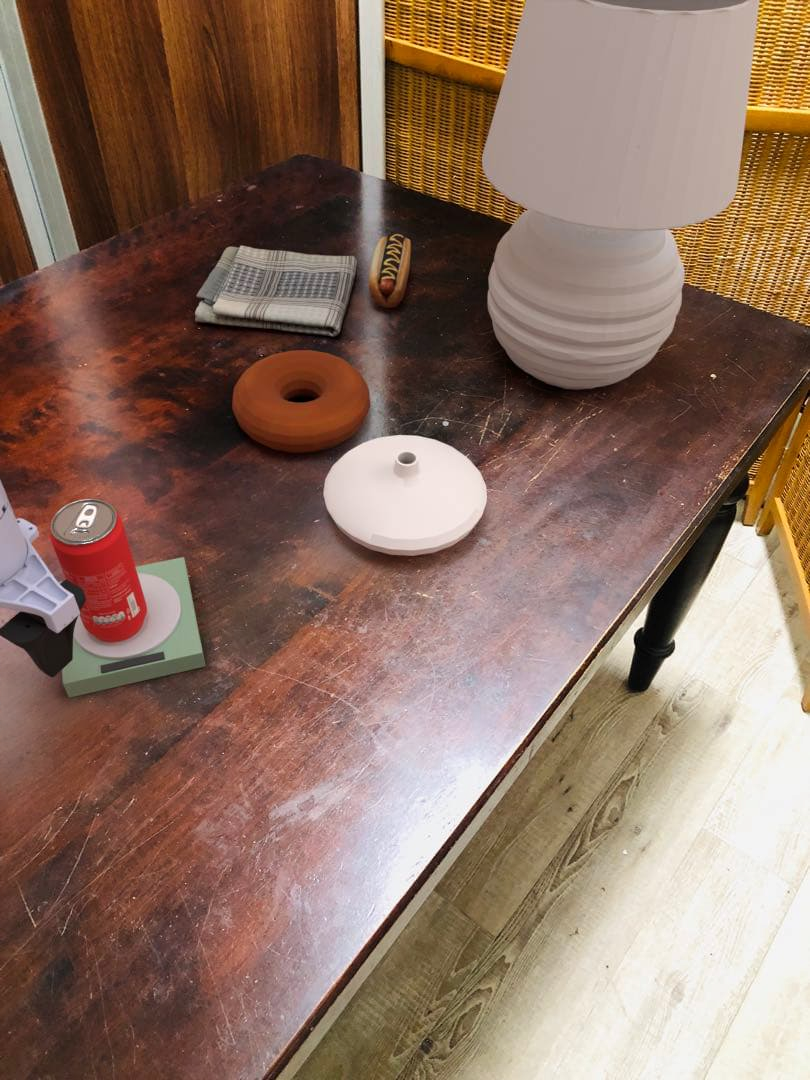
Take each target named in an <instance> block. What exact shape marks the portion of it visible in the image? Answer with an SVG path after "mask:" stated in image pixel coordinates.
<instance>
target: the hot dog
mask: <svg viewBox="0 0 810 1080" xmlns="http://www.w3.org/2000/svg"><path fill="white" fill-rule="evenodd" d="M411 253H412V244H411V239H409V238H408V237H405V235H404V234H402V233H400V232H397V231H396V232H391V233H390V234H388V235H387V236H382V237H381V238H380V239H379V240H378V242H377V244H376V246H375V248H374V251H373V253H372V256H371V259H370V264H369V267H368V291H369V295H370V296H371V298H372V300H373V301H374V303H375V304H377V306H379V307H383V308H388V309H389V308H396V307H398V305H399V304H400V302H401V301H402V300H403V298H404V295H405V291H406V287H407V284H408V280H409V275H410V274H409V273H410V267H411V255H412V254H411Z"/></svg>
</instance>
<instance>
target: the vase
mask: <svg viewBox="0 0 810 1080" xmlns="http://www.w3.org/2000/svg"><path fill="white" fill-rule="evenodd" d="M487 491H488V489H487V485H486V482H485V480H484V478H483V475H482V473H481V471H480V470H479V469H478V467H476V465H475V464H474V463H473V462H472V460H470V458H469V457H467V456H466V455H465V454H463V453H462V452H460V451H458V450H457V449H456V448H455V447H453V446H451V445H449V444H446V443H444V442H443V441H439V440H437V439H434V438H429V437H424V436H420V435H409V434H408V435H405V434H396V435H395V434H394V435H388V436H381V437H376V438H373V439H370V440H368V441H365V442H362V443H361V444H358V445H357V446H355V447H353V448H351V449H350V450H347V452H345V453H344V454H343V455H342V456H341V457H340V458H339V459H338V460H336V462H335V463H333V465H332V466H331V468H330V470H329V471H328V473H327V475H326V477H325V479H324V486H323V498H324V502H325V507H326V510H327V512H328V514H329V515H330V517H331V519H332V520H333V522H334V523H335V524H336V526H337V528H338V529H339V531H340V532H342V533H343V534H345V536H347V537H348V538H349V539H350V540H352V541H353V542H355V543H356V544H359V545H361V546H363V547H365V548H367V549H369V550H371V551H375V552H379V553H383V554H387V555H390V556H391V555H392V556H411V557H413V556H419V555H428V554H434V553H436V552H439V551H441V550H444V549H447V548H450V547H452V546H454V545H456V544H457V543H458V542H460V541H461V540H462V539H464V538H466V537H467V536H468V535H469V534H470V533H471V531H472V530H474V528H475V526H476V525H477V524H478V522H479V521H480V520H481V518H482V517H483V514H484V511H485V509H486V505H487V503H488V495H487V494H488V493H487Z"/></svg>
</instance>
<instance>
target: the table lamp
mask: <svg viewBox="0 0 810 1080" xmlns="http://www.w3.org/2000/svg"><path fill="white" fill-rule="evenodd" d="M523 7H524V8H523V10H522V14H521V17H520V20H519V24H518V28H517V31H516V35H515V38H514V42H513V46H512V49H511V52H510V56H509V59H508V62H507V66H506V70H505V74H504V77H503V81H502V85H501V88H500V91H499V95H498V98H497V103H496V106H495V109H494V112H493V117H492V119H491V123H490V127H489V131H488V134H487V137H486V141H485V145H484V149H483V152H482V156H481V166H482V167H481V168H482V172H483V173H484V175H485V178H486V180H487V181H488V182H489V183H490V184H491V185H492V186H493V188H494V189H495V190H496V191H498V192H499V193H500V194H502V195H503V196H504V197H505V198H507V199H508V200H510V201H512V202H514V203H515V204H517V205H519V206H520V207H522V208H524V209H527V210H525V211H524V212H522V213H521V214H520V215H519V216H518V217H517V218H516V220H515V221H514V222H513V223H512V225H511V227H510V228H509V230H508V231H507V232H505V234H504V235H503V236H502V237H501V239H500V240H499V242H498V243H497V245H496V249H495V253H494V257H493V262H492V264H491V267H490V270H489V273H488V274H489V275H488V290H487V310H488V314H489V316H490V318H491V323H492V328H493V333H494V335H495V338H496V340H497V341H498V342H499V344H500V345H501V347H502V348H503V349H504V350H505V353H506V354H507V356H508V357H509V359H510V360H511V361H512V362H513V363H514V364H515V365H516V366H517V367H518V368H520V369H521V370H522V371H523V372H525V373H527V374H529V375H530V376H532V377H533V378H535V379H537V380H539V381H541V382H543V383H545V384H547V385H550V386H554V387H557V388H562V389H564V390H579V391H581V390H590V389H591V390H592V389H595V388H601V387H605V386H609V385H613V384H616V383H619V382H621V381H622V380H625V379H627V378H629V377H630V376H631V375H633V374H634V373H635V372H636V371H638V370H640V369H642V368H644V367H645V366H646V365H647V364H648V363H649V362H651V361H652V359H653V358H654V357H655V356H656V355H657V352H658V351H659V350H660V348H661V347H662V346H663V344H664V343H665V342H666V341H667V339H668V338H669V337H670V335H671V334H672V332H673V330H674V326H675V323H676V319H677V316H678V314H679V312H680V309H681V306H682V300H683V286H684V284H685V266H684V264H683V261H682V258H681V255H680V254H679V247H678V245H677V242H676V239H675V236H674V235H673V234H672V232H671V230H672V229H679V228H680V229H681V228H685V227H688V226H692V225H696V224H699V223H703V222H704V221H707V220H709V219H712V218H714V217H716V216H718V215H719V214H720V213H722V212H723V211H725V210H727V208H728V207H729V206H730V204H732V202H733V201H734V199H735V197H736V194H737V191H738V189H739V188H738V187H739V179H740V169H741V160H742V152H743V144H744V135H745V127H746V119H747V110H748V101H749V93H750V84H751V78H752V77H751V76H752V69H753V59H754V50H755V43H756V34H757V25H758V24H757V23H758V16H759V10H760V9H759V8H760V0H525V3H524V6H523Z"/></svg>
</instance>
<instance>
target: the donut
mask: <svg viewBox="0 0 810 1080" xmlns="http://www.w3.org/2000/svg"><path fill="white" fill-rule="evenodd" d="M298 398H310V399H313V400H309V401H306V402H295V401H290V400H292V399H298ZM231 403H232V405H231V409H232V411H233V414H234V417H235V419H236V421H237V423H238V426H239V427H240V429H241V430H242V431H243V432H245V434H247V435H248V436H249V437H250V438H251V439H252V440H254V442H257V443H258V444H260V445H263V446H265V447H267V448H270V449H272V450H276V451H282V452H286V453H291V454H298V453H300V454H301V453H315V452H319V451H325V450H327V449H332V448H334V447H336V446H338V445H340V444H341V443H343V442H345V441H347V440H348V439H350V438H351V437H352V436H353V435H354V434H355V433H356V432H357V431H359V429H360V428H361V427H362V426H363V425H364V423H365V421H366V419H367V416H368V414H369V412H370V408H371V396H370V388H369V385H368V383H367V381H366V380H365V378H364V377H363V375H362V373H361V372H360V371H359V370H358V369H357V368H356V367H355V366H353V364H350V363H349V362H348V361H346V360H345V359H343V358H341V357H338V356H336V355H334V354H332V353H331V354H330V353H328V352H322V351H317V350H311V349H307V350H305V349H304V350H288V351H283V352H279V353H274V354H270V355H268V356H267V357H264V358H261V359H259V360H257V361H256V362H254V363H253V364H252V365H251V366H250V367H248V368H247V369H246V370H244V372H243V373H242V374H241V376H240V377H239V379H238V381H236V384H235V385H234V387H233V393H232V402H231Z"/></svg>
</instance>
